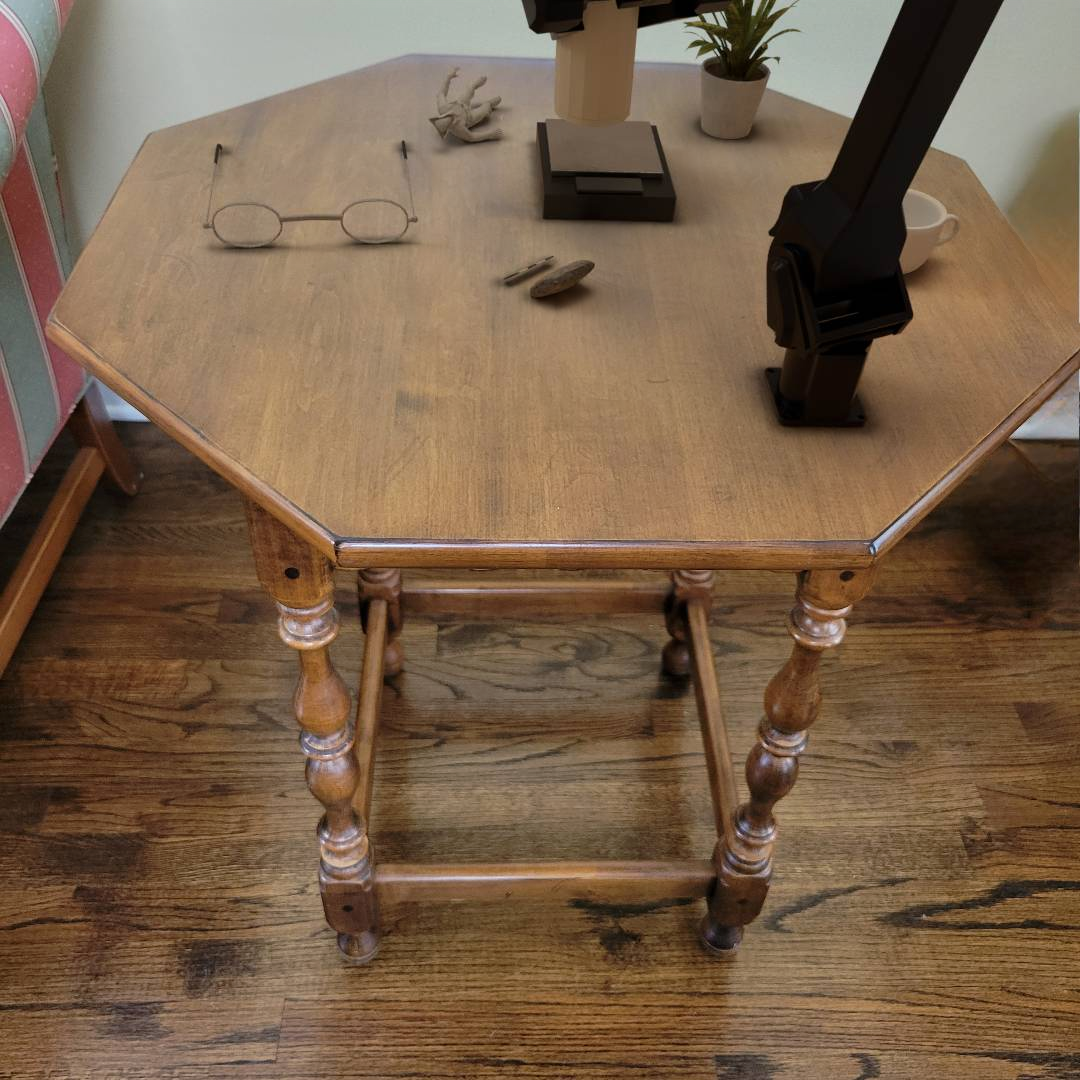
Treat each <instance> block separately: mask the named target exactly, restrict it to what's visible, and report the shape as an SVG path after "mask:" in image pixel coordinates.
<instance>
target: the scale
mask: <svg viewBox="0 0 1080 1080" xmlns="http://www.w3.org/2000/svg"><path fill="white" fill-rule="evenodd" d="M535 150H536V152H535V153H536V162H537V172H538V181H539V192H540V193H539V194H540V202H541V203H540V204H541V213H542V219H545V220H547V219H548V220H582V221H583V220H585V221H586V220H589V221H590V220H591V221H627V222H628V221H629V222H630V221H633V222H634V221H635V222H641V221H642V222H674V218H675V211H676V206H677V205H676V203H677V194H676V190H675V188H674V183H673V180H672V176H671V173H670V170H669V165H668V162H667V158H666V155H665V152H664V148H663V145H662V141H661V138H660V134H659V131H658V127H657V125H655V124H654V125H652V124H651V122H650V121H641V120H639V121H638V120H624V121H622V122H620V123H618V124H614V125H609V126H600V127H592V126H582V125H577V124H573V123H570V122H567V121H565V120H563V119H561V118H545V121H536V132H535Z"/></svg>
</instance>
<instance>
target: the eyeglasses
mask: <svg viewBox="0 0 1080 1080" xmlns="http://www.w3.org/2000/svg"><path fill="white" fill-rule="evenodd" d="M401 149H402V154H403V160H404V161H405V168H406V176H407V183H408V190H409V196H410V205H411V212H412V216H411V217H409V214H408V212H407V210H406V209H405V207H404V206H403V205H401V204H400V203H398V202H397V201H394V200H391V199H388V198H364V199H363V198H362V199H359V200H355V201H353V202H351V203H350V204H348V205H346V207H344V209H343V210H342V212H341V213H340V214H337V213H335V214H334V213H329V214H328V213H306V214H292V215H291V214H290V215H280V213H279V212H278V211H277V210H276V209H274V208H273V207H271V206H269V205H268V204H265V203H261V202H256V201H237V202H231V203H226V204H224V205H223V206H221V207H219V208H217V209H216V211H215V212H214V213H213V215H212V218H211V223H209V222H208V221H209V215H210V208H211V201H212V196H213V195H212V194H213V189H214V183H215V175H216V168H217V165H218V161H219V155H220V151H221V152H223V145H222V144H220V143H217V144H216V146H215V152H214V159H213V164H214V166H213V172H212V179H211V185H210V193H209V197H208V205H207V212H206V219H205V221H203V222H202V228H203V229H204V230H207V229H212V231H213V234H214V235H215V237H216V238H217V239H218V240H219V241H220V242H222V243H223V244H227V245H230V246H231V247H237V248H251V249H252V248H259V247H263V246H267V245H268V244H271V243H273V242H274V241H275V240H277V239H278V238H279V237H280V236H281V234H282V231H283V223H292V222H306V221H307V222H308V221H338V222H339V221H340V226H341V229H342V230H343V232H344V233H345V234H346V235H347V236H348V237H350V238H351V239H353V240H355V241H358V242H359V243H360V242H361V243H366V244H373V245H374V244H375V245H376V244H384V243H389V242H393V241H396V240H398V239H400V238H402V237H403V236H404V235H405V234H406V233H407V231H408V229H409V224H410V223H418V221H419V218H418V216H416V214H415V208H414V202H413V201H414V200H413V196H412V195H413V194H412V188H411V180H410V174H409V168H408V154H407V147H406V141H405V140H404V139H402V140H401ZM374 202H375V203H377V202H378V203H381V202H383V203H388V204H389V203H390V204H391V205H394V206H396V207H398V208H400V210H401V211H403V213H404V215H405V217H406V218H405V219H406V225H405V227H404V229H403V231H402V232H401V233H399V234H398V235H395V236H392V237H390V238H386V239H378V240H373V239H372V240H371V239H364V238H360V237H358V236H355V235H353V234H352V233H350V232H349V231H348V230H347V229H346V227H345V226H344V215H345V213H346V212H347V211H348V210H349V209H350V208H352V207H354V206H355V205H358V204H363V203H374ZM234 206H257V207H261V208H264V209H266V210H269V211H271V212H272V213H273V214H275V215H276V217H277V220H278V221H279V225H280V228H279V230H278V232H277V234H276V235H274V237H272V238H270V239H269V240H267V241H264V242H260V243H251V244H246V243H236V242H233V241H229V240H227V239H224V238H223V237H221V235H219V233H218V231H217V230H216V226H215V217H216V216H217V215H218V213H219V212H222V211H223V210H225V209H226V208H230V207H234Z"/></svg>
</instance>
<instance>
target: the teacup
mask: <svg viewBox="0 0 1080 1080" xmlns="http://www.w3.org/2000/svg"><path fill="white" fill-rule="evenodd" d="M903 209H904V215H905V221H906V227H907V238H906V242H905V245H904V247H903V250H902V253H901V256H900V259H899V261H900V264H901V268H902V272H903V275H906V274H909V273H912V272H913V271H916V270H917V269H919V268H920V267H921V266H922V265H923V264H924V263H925V262H927V260H928V259H929V257H930V256H931V255H932V253H933V251H934V249H935V248H936V247H939V246H941V245H943V244H945V243H948V242H949V241H951V240H952V239H954V238H955V237H956V236H957V235H958V233H959V232H960V228H961V220H960V218H959V217H958V216H957V215H955V214H953V213H948V211H947V209H946V207H945V205H943V204H942V202H941V201H939V200H938V199H936V198H935V197H933V196H931V195H929V194H927V193H924V192H922V191H919V190H916V189H913V188H908V190H907V192H906V194H905V196H904V199H903ZM951 221H953V222H954V225H953V228H952V230H951V231H950V232H949V233H948V234H947V235H944V236H942V237H940V236H941V234H942V231H943V229H944V226H945V225H946V224H947V223H949V222H951Z"/></svg>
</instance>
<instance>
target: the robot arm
mask: <svg viewBox="0 0 1080 1080" xmlns="http://www.w3.org/2000/svg"><path fill="white" fill-rule="evenodd" d="M520 1H521V4H522V7H523V11H524V15H525V18H526V23H527V26H528V29H530V30H531V31H532V32H533V33H535V34H536V35H543V34H549V35H550V39H551V41H556V40H558V39H561V38H564V37H567V36H570V35H573V34H576V33H579V32H582V31H584V30H585V27H584V24H583V20H582V19H583V13H584V11H585V10H586V8H587V5H590V4H599V3H607V2H616V5H617V9H625V8H633V7H639V14H638V26H637V30H640V29H644V28H649V27H653V26H658V25H664V24H667V23H672V22H677V21H682V20H687V19H691V18H697V17H698V16H700V15H701V14H702V15H706V14H712V13H720V12H722V13H723V12H724V10H725V9H726V8H727V7H728V6H729V5H730V4H731V3H732V2H733V1H734V0H520ZM1004 1H1005V0H903V2H902V4H901V7H900V9H899V11H898V14H897V16H896V19H895V20H894V23H893V25H892V28H891V29H890V32H889V34H888V37H887V40H886V41H885V44H884V46H883V49H882V50H881V53H880V55H879V58H878V60H877V63H876V65H875V67H874V70H873V72H872V74H871V77H870V79H869V81H868V83H867V86H866V88H865V90H864V93H863V95H862V98H861V100H860V102H859V104H858V107H857V109H856V112H855V114H854V117H853V119H852V120H851V123H850V124H849V125H850V126H849V127H848V130H847V133H846V135H845V137H844V139H843V142H842V144H841V147H840V149H839V151H838V153H837V156H836V158H835V159H834V160H835V161H834V163H833V165H832V167H831V169H830V172H829V173H828V175H827V176H826V178H824V179H818V180H812V181H808V182H803V183H797V184H792V185H791V186H790V187H789V189H788V190H787V192H786V193H785V194H784V197H783V200H782V203H781V207H780V211H779V214H778V218H777V219H776V221H775V223H774V225H773V226H772V227H770V229H769V230H768V231H767V232H768V237H772V238H773V239H772V240H771V243H770V245H769V247H768V253H767V257H766V259H767V260H766V268H765V269H766V271H765V273H766V274H765V275H766V276H765V277H766V278H765V279H766V280H765V281H766V283H765V285H766V287H765V288H766V325H767V327H768V328H769V329H771V331H773V332H774V336H775V337H774V343H775V344H776V345H777V346H778V347H779V348H784V349H785V352H784V356H783V360H782V362H781V367H779V366H776V367H775V366H769V367H766V368H765V369H764V372H763V378H764V380H765V383H766V386H767V390H768V393H769V397H770V400H771V402H772V405H773V409H774V411H775V414H776V417H777V420H778V422H779V423H780V424H781V425H784V426H835V427H836V426H840V427H842V426H843V427H844V426H846V427H848V426H849V427H863V426H865V425H866V424H867V421H868V416H867V414H866V411H865V408H864V406H863V403H862V401H861V398H860V397H859V394H858V389H859V386H860V383H861V379H862V377H863V374H864V371H865V367H866V364H867V361H868V358H869V355H870V351H871V348H872V346H873V343H874V340H876V339H880V338H884V337H888V336H897V335H901V334H902V333H903V331H905V329H906V328H907V326H908V325H909V324H910V323H911V322H912V320H913V319H914V310H913V306H912V302H911V299H910V295H909V291H908V287H907V284H906V280H905V276H904V274H903V272H902V268H901V264H900V261H899V259H900V256H901V253H902V250H903V247H904V245H905V242H906V238H907V227H906V221H905V215H904V209H903V199H904V196H905V194H906V192H907V190H908V189H910V186H911V184H912V182H913V180H914V179H915V177H916V176H917V175H916V174H917V173H918V171H919V169H920V167H921V165H922V163H923V162H924V159H925V157H926V155H927V153H928V151H929V149H930V147H931V145H932V143H933V141H934V139H935V137H936V136H937V133H938V131H939V129H940V127H941V125H942V124H943V122H944V120H945V117H946V116H947V113H948V112H949V110H950V108H951V106H952V104H953V102H954V100H955V98H956V96H957V94H958V92H959V90H960V88H961V86H962V84H963V82H964V80H965V78H966V76H967V75H968V72H969V71H970V68H971V67H972V64H973V62H974V61H975V58H976V56H977V54H978V52H979V51H980V49H981V47H982V45H983V43H984V41H985V39H986V37H987V35H988V33H989V31H990V29H991V27H992V25H993V23H994V22H995V19H996V18H997V16H998V13H999V12H1000V9H1001V8H1002V5H1003V3H1004ZM698 18H699V17H698Z"/></svg>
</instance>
